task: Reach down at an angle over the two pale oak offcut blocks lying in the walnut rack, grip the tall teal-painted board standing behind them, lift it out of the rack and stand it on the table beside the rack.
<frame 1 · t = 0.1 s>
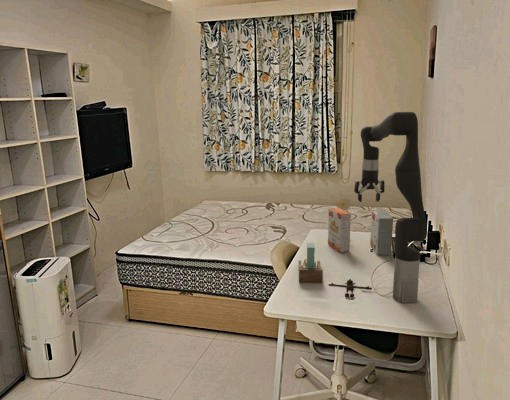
hand: (368, 201, 208), 29 cm above the table, tool pointing down, fingers open, 8 cm apart
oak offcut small: (309, 264, 198), point 3 cm above the table, touching oak offcut large
long-limbed plush toy: (349, 293, 178), on the table
walnut rack: (309, 275, 194), on the table
teal board: (310, 277, 190), point 1 cm above the table, touching walnut rack
cracker box: (338, 248, 230), on the table
hard drive box: (380, 250, 226), on the table
oak offcut large: (309, 270, 198), point 1 cm above the table, touching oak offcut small, walnut rack
flower in vase: (340, 239, 244), on the table
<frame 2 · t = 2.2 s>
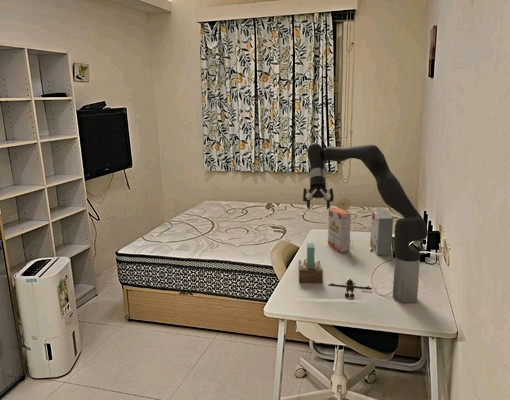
hand: (318, 208, 198), 29 cm above the table, tool tilted 45°, fingers open, 8 cm apart
nothing on the table moved.
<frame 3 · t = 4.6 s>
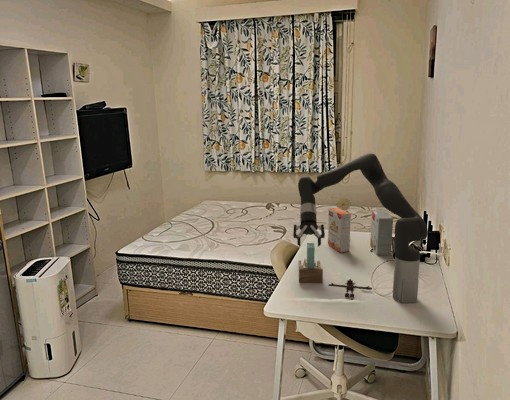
hand: (309, 245, 193), 14 cm above the table, tool tilted 45°, fingers open, 8 cm apart
nothing on the table moved.
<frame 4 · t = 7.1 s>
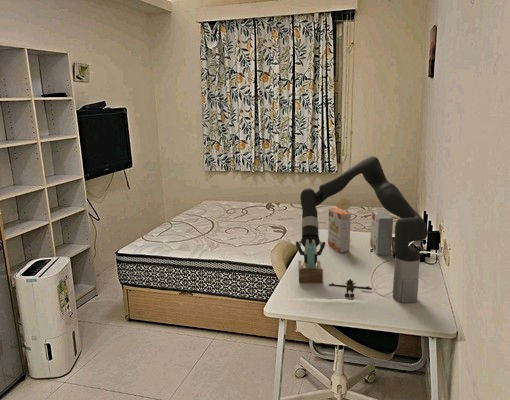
hand: (310, 263, 186), 8 cm above the table, tool tilted 45°, fingers closed on teal board, 3 cm apart
teal board: (310, 277, 190), point 1 cm above the table, touching gripper, walnut rack
everything else where it was.
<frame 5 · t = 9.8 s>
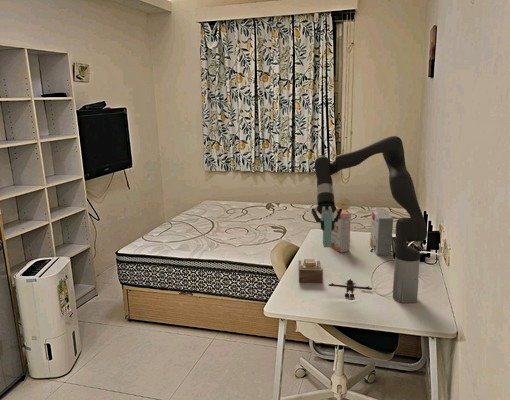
hand: (327, 229, 182), 24 cm above the table, tool tilted 45°, fingers closed on teal board, 3 cm apart
teal board: (326, 245, 185), point 16 cm above the table, touching gripper
everything else where it was.
when the fingers open (8 cm above the table, at t = 12.9 s): teal board stays where it is, on the table.
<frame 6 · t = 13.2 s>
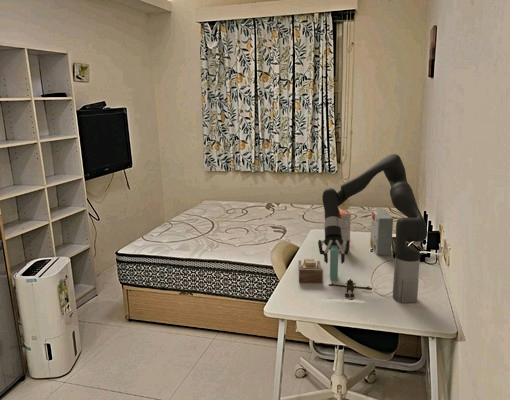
hand: (334, 262, 186), 9 cm above the table, tool tilted 45°, fingers open, 6 cm apart
teal board: (333, 279, 190), on the table
everything else where it was.
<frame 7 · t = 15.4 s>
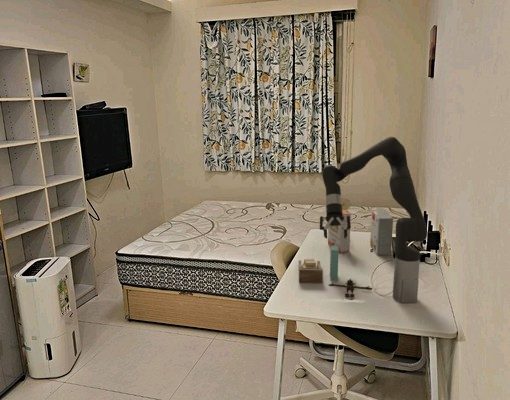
hand: (335, 238, 198), 15 cm above the table, tool tilted 35°, fingers open, 8 cm apart
nothing on the table moved.
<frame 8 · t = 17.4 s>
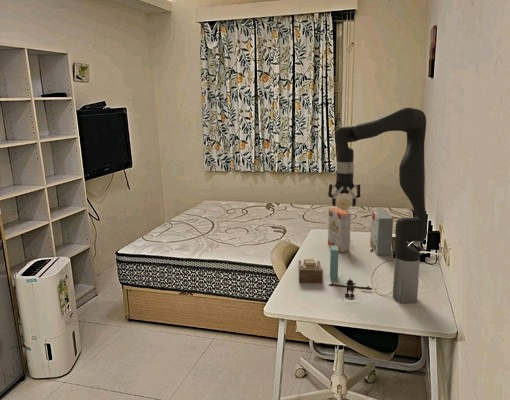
hand: (343, 206, 196), 30 cm above the table, tool pointing down, fingers open, 8 cm apart
nothing on the table moved.
at the end: teal board inside the target area (0.5 cm from its centre), on the table; teal board touching table; the gripper is holding nothing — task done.
